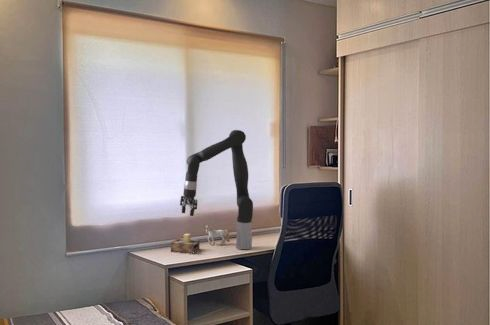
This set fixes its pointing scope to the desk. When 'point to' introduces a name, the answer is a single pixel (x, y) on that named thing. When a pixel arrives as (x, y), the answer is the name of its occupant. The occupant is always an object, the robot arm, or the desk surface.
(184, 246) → the walnut box
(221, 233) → the unicorn figurine
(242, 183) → the robot arm
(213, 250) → the desk surface
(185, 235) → the slate lid
